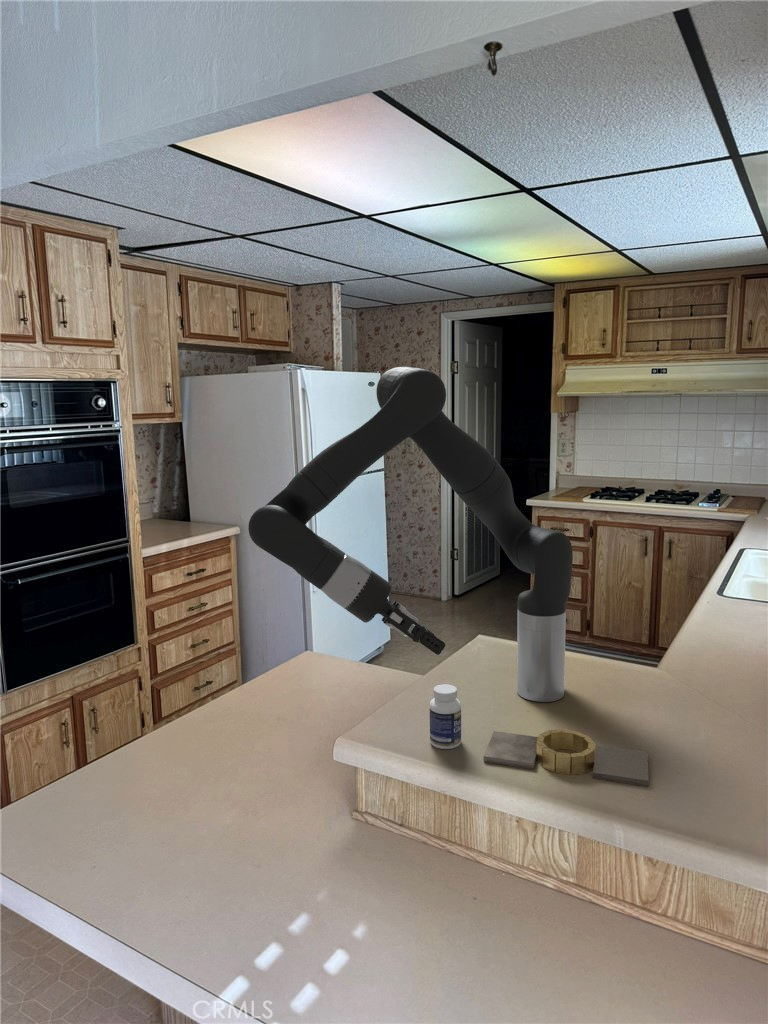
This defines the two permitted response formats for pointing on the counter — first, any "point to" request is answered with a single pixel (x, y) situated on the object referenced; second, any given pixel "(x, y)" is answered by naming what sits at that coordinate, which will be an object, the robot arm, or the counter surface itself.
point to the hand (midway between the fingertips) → (436, 644)
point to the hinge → (568, 756)
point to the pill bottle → (445, 717)
